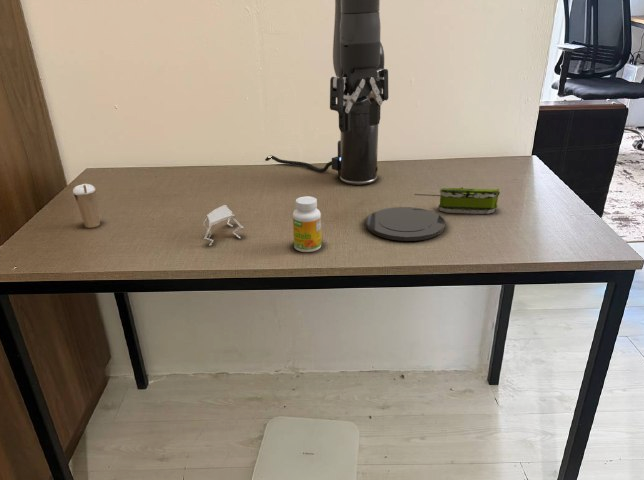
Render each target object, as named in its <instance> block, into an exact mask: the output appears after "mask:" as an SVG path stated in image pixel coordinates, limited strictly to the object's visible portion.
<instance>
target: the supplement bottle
mask: <svg viewBox="0 0 644 480" xmlns="http://www.w3.org/2000/svg"><path fill="white" fill-rule="evenodd" d="M317 207H318V199H317V198H316V197H314V196H308V195H307V196H306V195H305V196H300V197H298V198H296V199H295V208H296V209H294V211H293V213H292V226H293V228H292V229H293V231H292V232H293V247H294V249H295V250H297V251H299V252H301V253H312V252H317V251H319V250H320V249H321V247H322V213H321V211H320V210H319V209H318V208H317Z"/></svg>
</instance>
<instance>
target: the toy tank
mask: <svg viewBox="0 0 644 480" xmlns="http://www.w3.org/2000/svg"><path fill="white" fill-rule="evenodd" d="M439 193H440V194H437V197H439V204H438V206H437V207H438V210H439V211H441V212H443V213H449V214H472V215H473V214H474V215H475V214H476V215H477V214H478V215H488V214H493V213H494V212H495V211H496V209H498V207H499V204H498V201H499V196H500V194H501V192H500V189H499V188H497V189H496V188H495V189H494V188H493V189H492V188H491V189H490V188H485V189H484V188H464V187H458V188H455V187H448V188H445V187H444V188H443V187H442V188H440V189H439ZM414 196H428V197H436V194H425V193H423V194H421V193H414Z"/></svg>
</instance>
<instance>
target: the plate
mask: <svg viewBox="0 0 644 480" xmlns="http://www.w3.org/2000/svg"><path fill="white" fill-rule="evenodd" d="M445 225H446V221H445V219H444V218H443V216H441V215H439V214H438V213H436V212H434V211H431V210H428V209H424V208H420V207H412V206H411V207H410V206H397V207H396V206H395V207H387V208H382V209H379V210H377V211H374V212H372V213H370V215H368V217H367V218H366V227H367V229H368V231H369V232H371V233H372V234H373V235H375V236H378V237H380V238H384V239H387V240H393V241H400V242H414V241H415V242H417V241H425V240H428V239H432V238H435V237H436V236H437V237H438V236H439V235H441V234H442V233H443V232H444V230H445V227H446V226H445Z"/></svg>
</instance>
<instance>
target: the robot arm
mask: <svg viewBox="0 0 644 480" xmlns="http://www.w3.org/2000/svg"><path fill="white" fill-rule="evenodd" d="M380 2H381V0H334V21H333V22H334V23H333V40H332V65H333V71H334V75H335V76H331V77H330V80H329V81H330V82H329V85H330V86H329V109H330V111H335V112H337V114H338V129H339V132H340V140H338V141H337V155H336V156H335V157H331V161H329V162H327V163H326V164H325V165H324V167H321V168H320V167H316V166H314V165H312V164H310V163H308V162H303V161H297V160H286V159H281V158H278V157H277V156H275V155H271V156H272V157H271V158H272V159H271V158H268V156H267V157H266V158H265V159H264V161H266V162H269V161H270V160H273V161H275V162H277V163H279V164H283V165H292V166H301V167H306V168H309V169H311V170H312V171H315V172H318V173H324V172H327V170H328V169H329V168H330V167H331V170H333V171H337V179H339V181H340V182H341V183H344V184H347V185H353V186H365V185H370V184H373V183H375V182H376V181H377V180H378V172H379V171H378V153H379V149H378V148H379V125H380V121H381V106H382V105H383V103H384V102H385V101H388V100H389V70H388V68H385V51H384V46H383V44H382V42H381V28H382V27H381V19H380V18H381V17H380V7H381V5H380V4H381V3H380Z"/></svg>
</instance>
